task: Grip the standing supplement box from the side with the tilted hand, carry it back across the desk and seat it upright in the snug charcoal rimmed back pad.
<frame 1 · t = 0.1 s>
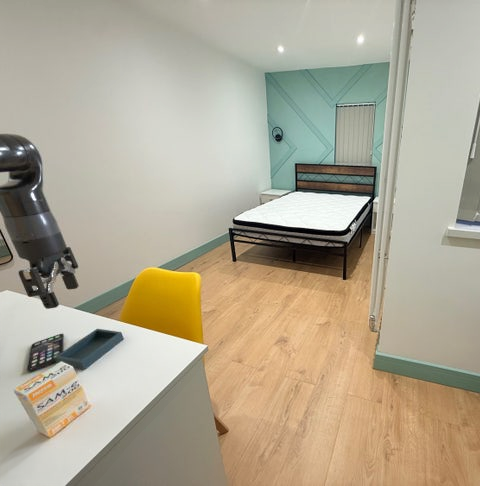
hand: (63, 297, 62), 26 cm above the table, tool pointing down, fingers open, 8 cm apart
supplement box: (66, 419, 61), on the table
smartphone: (47, 352, 81), on the table
pad dock: (92, 351, 81), on the table
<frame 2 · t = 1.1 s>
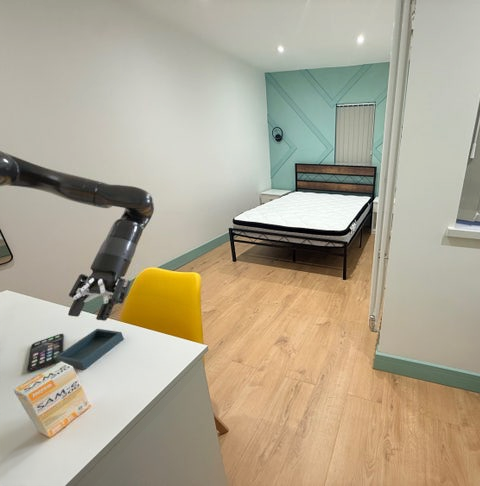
hand: (86, 318, 64), 20 cm above the table, tool tilted 45°, fingers open, 8 cm apart
nothing on the table moved.
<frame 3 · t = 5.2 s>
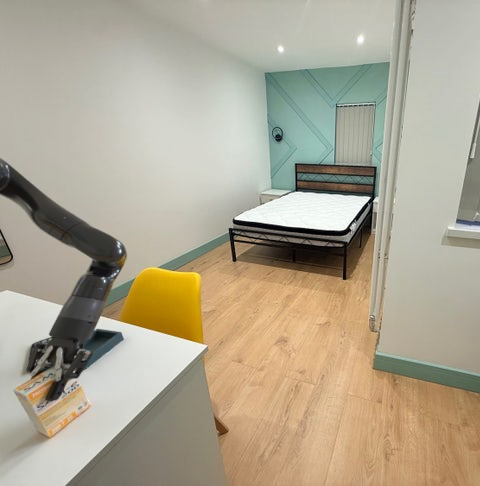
hand: (40, 397, 56), 9 cm above the table, tool tilted 45°, fingers closed on supplement box, 5 cm apart
supplement box: (66, 419, 61), on the table, touching gripper
everything else where it was.
when the fingers open (10 cm above the table, at t = 15.2 s): supplement box stays where it is, resting on pad dock.
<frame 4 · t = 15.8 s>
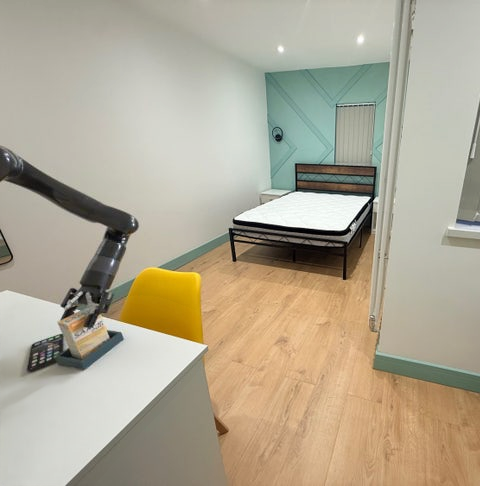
hand: (75, 325, 76), 11 cm above the table, tool tilted 45°, fingers open, 8 cm apart
supplement box: (93, 350, 81), resting on pad dock
everything else where it was.
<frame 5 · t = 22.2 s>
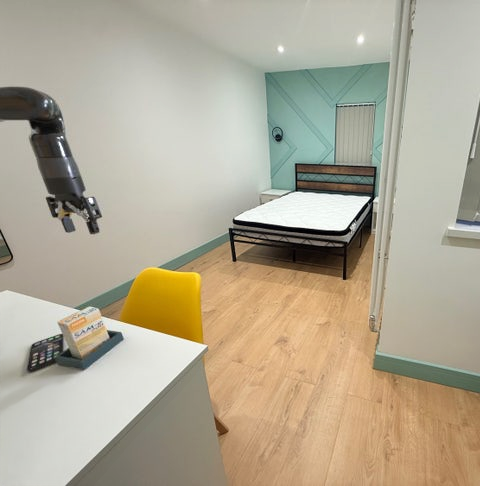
hand: (83, 232, 75), 36 cm above the table, tool pointing down, fingers open, 8 cm apart
nothing on the table moved.
at the end: supplement box 0.2 cm off-centre in the pad dock, point 0.2 cm above the pad dock's base; supplement box tilted 0°; the gripper is holding nothing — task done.
